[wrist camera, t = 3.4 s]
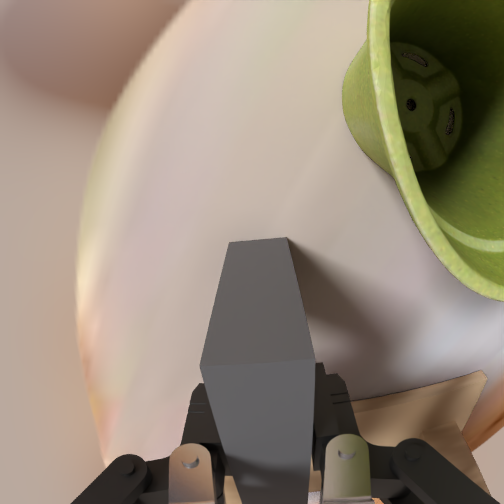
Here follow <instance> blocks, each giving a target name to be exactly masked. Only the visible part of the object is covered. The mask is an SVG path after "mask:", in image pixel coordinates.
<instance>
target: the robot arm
mask: <svg viewBox="0 0 504 504" xmlns="http://www.w3.org/2000/svg"><path fill="white" fill-rule="evenodd" d="M311 455H312V463H313V471H320V472H321V480H322V482H321V490H320V503H319V504H375V502H374V500H373V499H372V498H379V499H380V500H381V501H382V502H383V503H384V504H500V503H499V502H497V501H496V500H495V499H494V498H493V497H491V496H490V495H489V494H488V493H487V492H485V491H484V490H483V489H482V488H480V487H479V486H478V485H477V484H476V483H474V482H473V481H472V480H471V479H470V478H468V477H467V476H466V475H465V474H464V473H462V472H461V471H460V470H459V469H458V468H456V467H455V466H454V465H453V464H452V463H451V462H449V461H448V460H447V459H446V458H445V457H443V456H442V455H441V454H440V453H439V452H438V451H436V450H435V449H434V448H433V447H432V446H431V445H429V444H428V443H427V442H426V441H424V440H422V439H418V438H409V439H405V440H403V441H401V442H400V443H398V444H397V446H396V447H392V446H378V445H373V444H371V443H369V442H367V441H366V440H365V439H363V437H362V436H361V435H360V432H359V429H358V426H357V422H356V419H355V415H354V412H353V408H352V405H351V402H350V398H349V394H348V391H347V387H346V384H345V382H344V381H343V379H342V378H341V377H340V376H339V375H338V374H330V375H326V374H325V369H324V365H323V363H315V392H314V417H313V437H312V453H311ZM225 476H232V473H231V470H230V467H229V464H228V461H227V458H226V455H225V452H224V449H223V446H222V443H221V439H220V436H219V433H218V430H217V426H216V423H215V420H214V416H213V413H212V409H211V406H210V402H209V399H208V395H207V392H206V388H205V385H204V383H199V385H198V386H197V387H196V388H195V390H194V391H193V392H192V396H191V400H190V405H189V409H188V414H187V418H186V423H185V427H184V432H183V437H182V441H181V445H180V446H179V447H177V448H176V449H175V450H174V451H173V452H172V454H171V455H170V456H169V457H166V458H163V459H158V460H152V461H146V462H145V461H144V460H143V459H142V458H141V457H139V456H137V455H133V454H126V455H122V456H120V457H118V458H116V459H115V460H114V461H113V462H112V463H111V464H110V465H109V466H108V467H107V468H106V469H105V470H104V471H103V472H102V473H101V474H100V475H99V476H98V477H97V478H96V479H95V480H94V481H93V482H92V483H91V484H90V485H89V486H88V487H87V488H86V489H85V490H84V491H83V492H82V493H81V494H80V495H79V496H78V497H77V498H76V499H75V500H74V501H73V502H72V503H71V504H226V499H225V491H224V481H225Z"/></svg>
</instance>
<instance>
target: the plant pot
mask: <svg viewBox="0 0 504 504" xmlns="http://www.w3.org/2000/svg"><path fill="white" fill-rule="evenodd" d="M403 53H413V54H416V55H418V56H420V57H422V58H423V59H424V60H425V61H426V62H427V63H428V67H424V66H423V65H421V64H419V63H417V62H416V61H414V60H411V59H408V58H407V57H403V56H402V54H403ZM409 99H412V100H414V101H415V103H416V108H415V109H414V111H410V110H409V109H408V108H407V106H406V105H407V101H408V100H409ZM342 105H343V112H344V116H345V120H346V123H347V125H348V127H349V129H350V131H351V134H352V135H353V137H354V139H355V140H356V142H357V144H358V145H359V146H360V148H361V149H362V151H363V152H364V153H365V154H366V155H367V156H368V157H370V158H371V159H372V160H373V161H374V162H375V163H377V164H378V165H379V166H380V167H381V168H382V169H384V170H385V171H386V172H388V173H389V174H390V175H391V176H392V177H393V178H394V179H395V182H396V185H397V187H398V189H399V192H400V194H401V196H402V199H403V201H404V203H405V205H406V207H407V209H408V211H409V213H410V216H411V218H412V220H413V221H414V223H415V225H416V227H417V228H418V230H419V232H420V233H421V235H422V237H423V238H424V240H425V241H426V243H427V244H428V246H429V247H430V248H431V250H432V251H433V252H434V254H435V255H436V257H437V258H438V259H439V260H440V262H441V263H442V264H443V265H444V266H445V267H446V268H447V270H448V271H449V272H450V273H451V274H452V275H453V276H454V277H455V278H457V279H458V280H459V281H460V282H461V283H462V284H464V285H465V286H466V287H468V288H469V289H471V290H473V291H474V292H476V293H478V294H480V295H482V296H484V297H487V298H489V299H493V300H497V301H502V302H504V0H369V7H368V20H367V40H366V41H365V43H364V45H363V46H362V48H361V49H360V51H359V52H358V54H357V55H356V57H355V58H354V60H353V61H352V63H351V65H350V67H349V68H348V70H347V73H346V75H345V78H344V83H343V90H342ZM450 108H452V109H453V111H454V123H453V129H452V132H451V133H450V134H449V135H446V133H445V132H446V127H447V124H448V123H449V116H450ZM409 155H410V156H411V157H412V159H410V156H409Z"/></svg>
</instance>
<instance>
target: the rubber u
mask: <svg viewBox="0 0 504 504" xmlns="http://www.w3.org/2000/svg"><path fill="white" fill-rule="evenodd" d="M200 370H201V373H202V377H203V381H204V385H205V388H206V392H207V395H208V399H209V402H210V406H211V409H212V413H213V416H214V420H215V423H216V426H217V430H218V433H219V436H220V439H221V443H222V446H223V449H224V452H225V455H226V458H227V461H228V464H229V467H230V470H231V473H232V476H233V479H234V482H235V485H236V488H237V491H238V493H239V496H240V499H241V502H242V504H307V503H308V492H309V480H310V468H311V453H312V437H313V417H314V392H315V355H314V350H313V346H312V341H311V337H310V332H309V328H308V324H307V319H306V315H305V311H304V306H303V302H302V298H301V294H300V290H299V286H298V281H297V277H296V273H295V269H294V265H293V261H292V257H291V253H290V249H289V245H288V241H287V237H285V238H274V239H262V240H251V241H240V242H229V245H228V249H227V253H226V257H225V261H224V265H223V269H222V273H221V277H220V281H219V285H218V290H217V294H216V298H215V302H214V306H213V310H212V315H211V319H210V323H209V327H208V331H207V336H206V340H205V344H204V349H203V353H202V357H201V362H200Z"/></svg>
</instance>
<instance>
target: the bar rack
mask: <svg viewBox="0 0 504 504" xmlns="http://www.w3.org/2000/svg"><path fill="white" fill-rule="evenodd" d="M486 381H487V377H486V376H485V375H484V373H483V372H482V371H478V372H474V373H471V374H468V375H465V376H462V377H458V378H455V379H452V380H448V381H445V382H441V383H437V384H433V385H430V386H426V387H422V388H418V389H413V390H409V391H405V392H400V393H396V394H391V395H386V396H381V397H376V398H370V399H365V400H359V401H353V402H351V405H352V408H353V412H354V415H355V419H356V422H357V426H358V429H359V432H360V435H361V436H362V437H363V439H365V440H366V441H367V442H369V443H371V444H373V445H378V446H392V447H396V446H397V444H398V443H400V442H401V441H403V440H405V439H409V438H418V439H422V440H424V441H426V442H427V443H428V444H429V445H431V446H432V447H433V448H434V449H435V450H436V451H438V452H439V453H440V454H441V455H442V456H443V457H445V458H446V459H447V460H448V461H449V462H451V463H452V464H453V465H454V466H455V467H456V468H458V469H459V470H460V471H461V472H462V473H464V474H465V475H466V476H467V477H468V478H470V479H471V480H472V481H473V482H474V483H476V484H477V485H478V486H479V487H480V488H482V489H483V490H484V491H485V492H487V493H488V494H489V495H490V496H491V494H490V492H489V490H488V488H487V485H486V483H485V481H484V479H483V476H482V474H481V472H480V470H479V468H478V466H477V464H476V461H475V459H474V457H473V455H472V453H471V451H470V449H469V447H468V445H467V443H466V441H465V439H464V437H463V435H462V433H461V432H462V430H463V428H464V426H465V424H466V422H467V421H468V419H469V417H470V415H471V413H472V411H473V409H474V407H475V405H476V403H477V401H478V399H479V396H480V394H481V392H482V390H483V388H484V386H485V383H486ZM321 482H322V480H321V472H320V471H313V463H312V455H311V468H310V480H309V492H315V491H320V490H321ZM224 491H225V499H226V504H242V502H241V499H240V496H239V493H238V491H237V488H236V485H235V482H234V479H233V476H225V481H224Z"/></svg>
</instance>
